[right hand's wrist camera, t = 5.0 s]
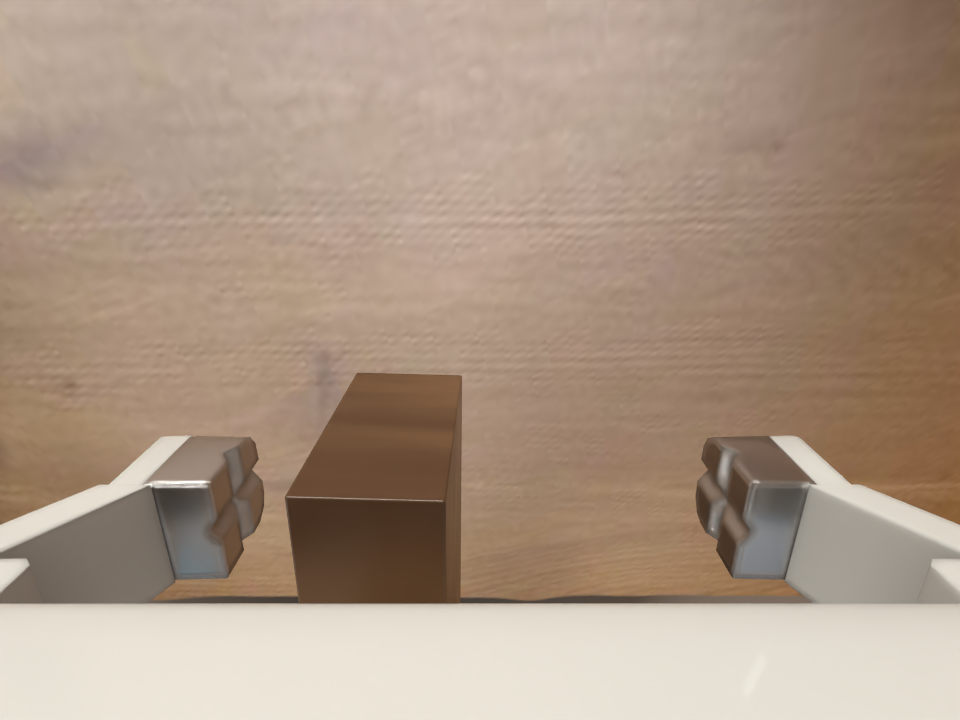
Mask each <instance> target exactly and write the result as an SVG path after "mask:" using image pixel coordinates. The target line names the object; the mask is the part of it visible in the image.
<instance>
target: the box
mask: <svg viewBox="0 0 960 720" xmlns="http://www.w3.org/2000/svg"><path fill="white" fill-rule="evenodd" d="M461 440H462V376H460V375H421V374H382V373H357V374H356V376H355V377H354V379H353V381H352V383H351V384H350V386H349V388H348V389H347V391H346V393H345V395H344V396H343V398H342V400H341V402H340V403H339V405H338V407H337V408H336V410H335V412H334V414H333V415H332V417H331V419H330V420H329V422H328V424H327V426H326V427H325V429H324V431H323V433H322V434H321V436H320V438H319V439H318V441H317V443H316V445H315V446H314V448H313V450H312V451H311V453H310V455H309V457H308V458H307V460H306V462H305V463H304V465H303V467H302V469H301V470H300V472H299V474H298V476H297V477H296V479H295V481H294V482H293V484H292V486H291V488H290V489H289V491H288V493H287V494H286V496H285V501H286V509H287V516H288V524H289V531H290V539H291V546H292V554H293V561H294V568H295V576H296V583H297V591H298V598H299V604H460V579H461Z"/></svg>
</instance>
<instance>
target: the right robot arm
mask: <svg viewBox="0 0 960 720" xmlns="http://www.w3.org/2000/svg"><path fill="white" fill-rule="evenodd" d="M701 459H702V461H703V462H704V464H705V466H706V467H707V469H708V470H707V471H706V473H705V474H704V475H703V476H702V477H701V478H700V479H699V480H698V482H697V490H696V506H697V513H698V516H699V520H700V523H701V525H702V526H703V528H704V530H705V532H706V533H707V534H709V535H711V536H712V537H714V538H715V539H717V540H718V543H717V548H716V551H717V552H718V554H719V556H720V558H721V559H722V561H723V563H724V564H725V566H726V568H727V569H728V571H729V573H730V574H731V576H732V578H743V579H780V580H785V582H786V583H787V584H788V585H790V586H791V587H792V588H794V589H795V590H796V591H798V592H799V593H800V594H802V595H803V596H804V597H806V598H807V599H808V600H810V601H811V602H812V603H814V604H147V603H148V602H149V601H151V600H152V599H153V598H155V597H156V596H157V595H159V594H160V593H161V592H163V591H164V590H165V589H167V588H168V587H169V586H171V585H172V584H173V583H175V580H180V579H216V578H228V576H229V575H230V573H231V571H232V569H233V568H234V566H235V564H236V563H237V561H238V559H239V558H240V556H241V554H242V552H243V551H244V548H243V543H242V540H243V539H245V538H246V537H248V536H249V535H251V534H253V533H254V532H255V530H256V528H257V526H258V524H259V523H260V520H261V516H262V512H263V508H264V489H263V482H262V480H261V479H260V478H259V477H258V476H257V475H256V474H255V473H254V472H253V470H252V469H253V467H254V466H255V464H256V462H257V461H258V454H257V449H256V444H255V442H254V441H253V440H252V439H251V438H250V437H217V436H195V437H194V436H166V437H161V438H160V439H158V440H157V441H156V442H155V443H154V444H153V445H152V446H151V447H150V448H149V449H147V450H146V451H145V452H144V453H143V454H142V455H141V456H140V457H139V458H138V459H136V460H135V461H134V462H133V463H132V464H131V465H130V466H129V467H128V468H126V469H125V470H124V471H123V472H122V473H121V474H120V475H119V476H118V477H117V478H115V479H114V480H113V481H112V482H111V483H110V484H109V485H97V486H95V487H92V488H90V489H88V490H85V491H83V492H80V493H78V494H75V495H73V496H70V497H68V498H65V499H63V500H60V501H58V502H55V503H53V504H50V505H48V506H46V507H43V508H41V509H38V510H36V511H33V512H31V513H28V514H26V515H23V516H21V517H18V518H16V519H13V520H11V521H9V522H6V523H4V524H1V525H0V720H960V525H959V524H956V523H954V522H951V521H949V520H946V519H944V518H941V517H939V516H936V515H934V514H932V513H929V512H927V511H924V510H922V509H919V508H917V507H914V506H912V505H909V504H907V503H904V502H902V501H900V500H897V499H895V498H892V497H890V496H887V495H885V494H882V493H880V492H877V491H875V490H872V489H870V488H868V487H865V486H863V485H851V484H850V483H849V482H848V481H847V480H846V479H845V478H843V477H842V476H841V475H840V474H839V473H838V472H837V471H836V470H835V469H834V468H832V467H831V466H830V465H829V464H828V463H827V462H826V461H825V460H824V459H823V458H822V457H820V456H819V455H818V454H817V453H816V452H815V451H814V450H813V449H812V448H811V447H809V446H808V445H807V444H806V443H805V442H804V441H803V440H802V439H801V438H799V437H796V436H792V435H789V436H750V437H714V438H708V439H707V441H706V443H705V445H704V448H703V453H702V458H701Z"/></svg>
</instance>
